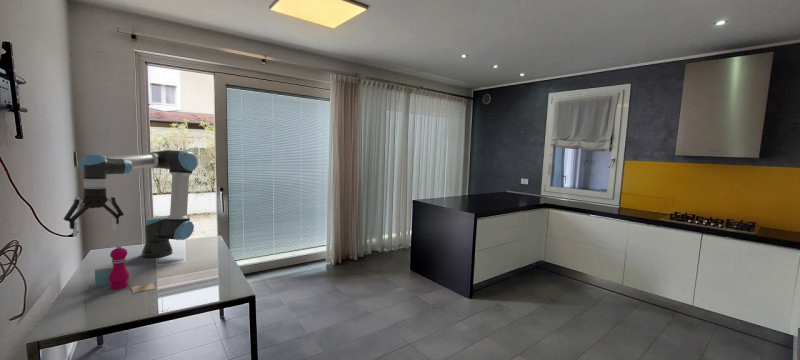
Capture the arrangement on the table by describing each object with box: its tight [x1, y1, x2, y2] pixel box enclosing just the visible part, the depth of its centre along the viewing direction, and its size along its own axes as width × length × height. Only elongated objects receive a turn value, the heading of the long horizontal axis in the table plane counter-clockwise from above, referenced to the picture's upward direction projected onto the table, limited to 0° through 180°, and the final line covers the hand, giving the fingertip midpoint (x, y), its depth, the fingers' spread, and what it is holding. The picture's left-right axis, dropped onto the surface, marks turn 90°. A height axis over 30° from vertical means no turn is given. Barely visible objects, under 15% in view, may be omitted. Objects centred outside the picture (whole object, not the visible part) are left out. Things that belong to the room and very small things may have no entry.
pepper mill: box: [109, 244, 130, 290], centre depth 149 cm, size 7×7×20 cm
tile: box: [94, 265, 113, 287], centre depth 151 cm, size 8×2×8 cm, turn 135°
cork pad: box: [131, 282, 156, 294], centre depth 149 cm, size 8×8×1 cm
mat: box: [88, 279, 132, 298], centre depth 149 cm, size 14×17×1 cm
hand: (95, 233), depth 148 cm, fingers open, 13 cm apart
